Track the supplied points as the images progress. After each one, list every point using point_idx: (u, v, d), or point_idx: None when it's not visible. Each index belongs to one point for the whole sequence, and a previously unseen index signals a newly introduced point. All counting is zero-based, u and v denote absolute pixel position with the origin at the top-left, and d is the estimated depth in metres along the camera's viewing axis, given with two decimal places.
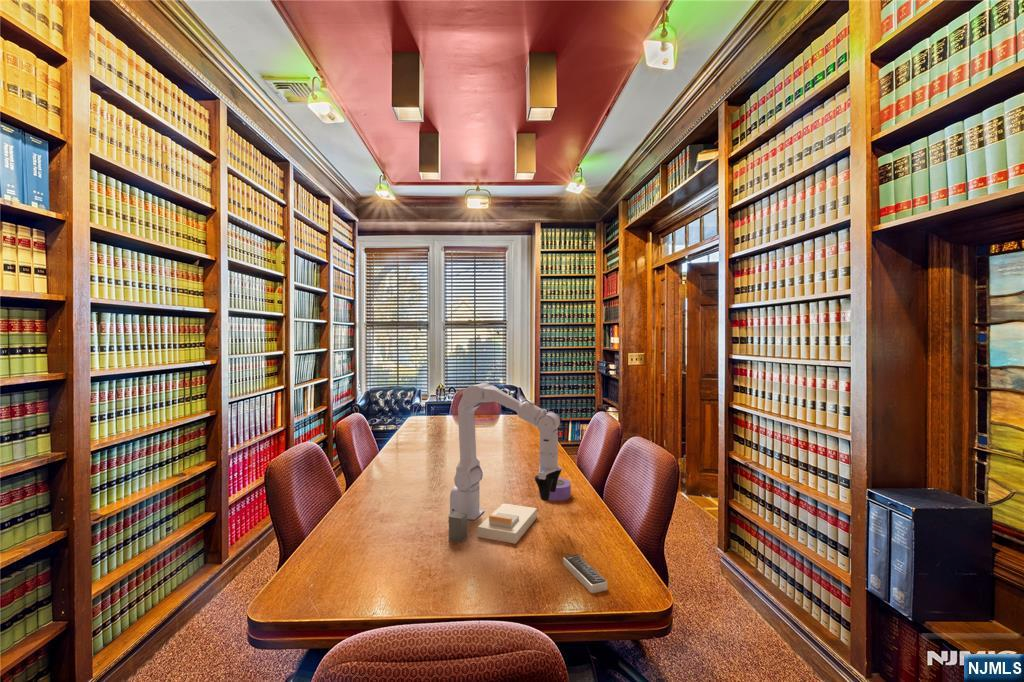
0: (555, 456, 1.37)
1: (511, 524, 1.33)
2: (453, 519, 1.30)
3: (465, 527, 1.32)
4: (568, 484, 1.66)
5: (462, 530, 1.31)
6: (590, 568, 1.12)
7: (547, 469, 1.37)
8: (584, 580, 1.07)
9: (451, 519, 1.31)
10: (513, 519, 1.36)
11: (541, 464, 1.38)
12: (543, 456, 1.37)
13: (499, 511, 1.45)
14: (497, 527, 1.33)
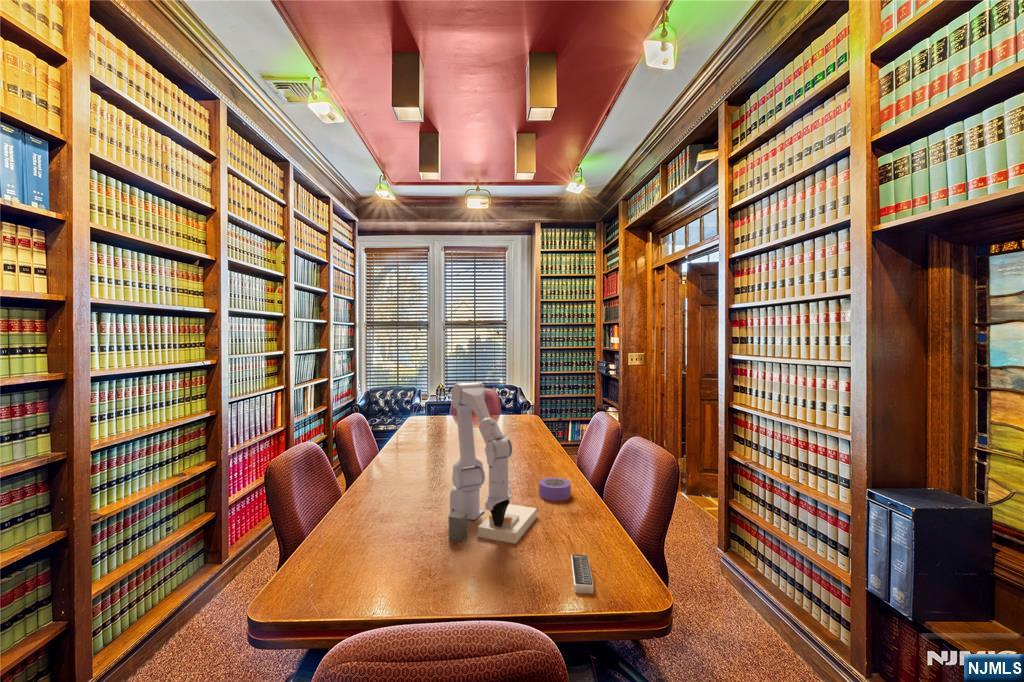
0: (504, 484, 1.30)
1: (511, 524, 1.33)
2: (453, 519, 1.30)
3: (465, 527, 1.32)
4: (568, 484, 1.66)
5: (462, 530, 1.31)
6: (587, 570, 1.11)
7: (496, 498, 1.29)
8: (573, 578, 1.08)
9: (451, 519, 1.31)
10: (513, 519, 1.36)
11: (490, 493, 1.31)
12: (492, 484, 1.30)
13: None
14: (497, 527, 1.33)
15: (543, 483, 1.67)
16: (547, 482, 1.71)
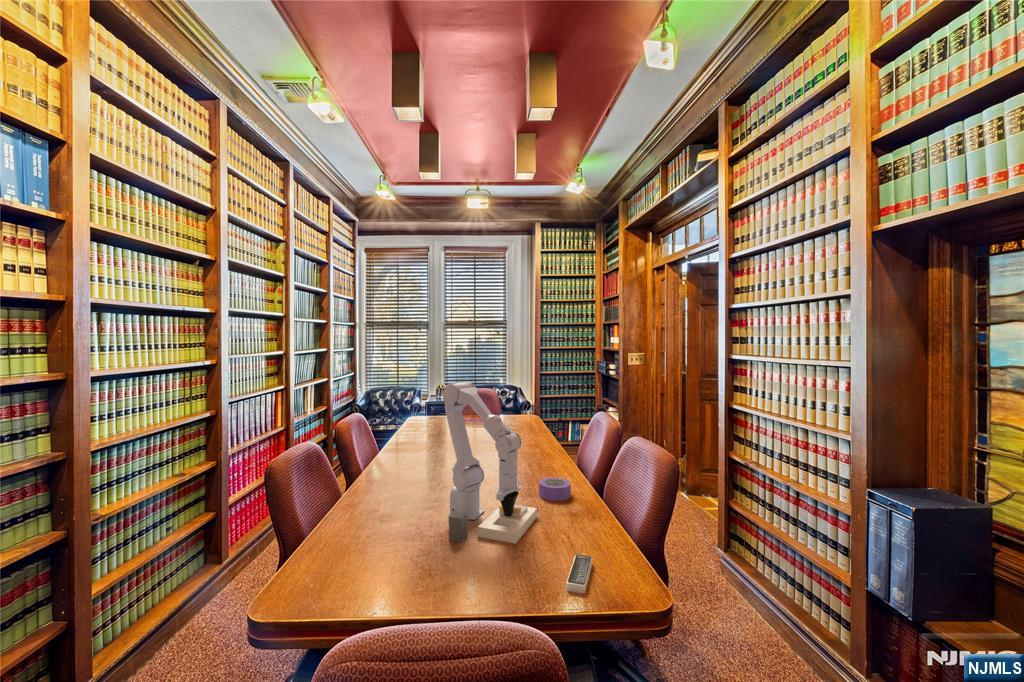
0: (514, 476, 1.38)
1: (520, 514, 1.40)
2: (453, 519, 1.30)
3: (465, 527, 1.32)
4: (568, 484, 1.66)
5: (462, 530, 1.31)
6: (585, 570, 1.11)
7: (506, 489, 1.37)
8: None
9: (451, 519, 1.31)
10: (522, 509, 1.43)
11: (500, 484, 1.38)
12: (502, 476, 1.38)
13: None
14: (497, 527, 1.33)
15: (543, 483, 1.67)
16: (547, 482, 1.71)
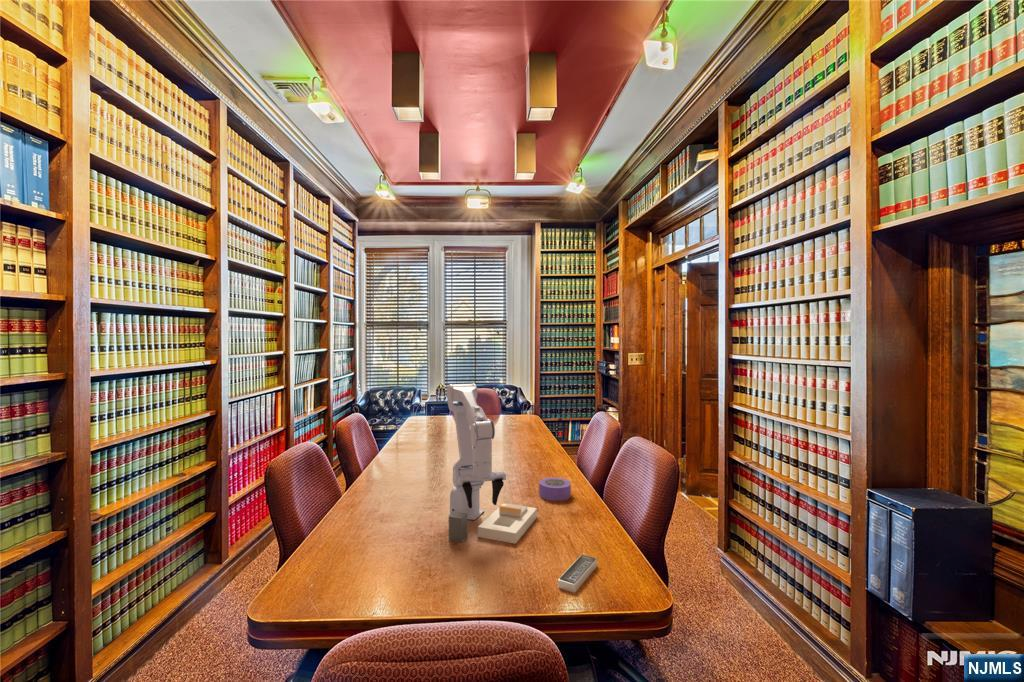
0: (480, 466, 1.33)
1: (520, 514, 1.40)
2: (453, 519, 1.30)
3: (465, 527, 1.32)
4: (568, 484, 1.66)
5: (462, 530, 1.31)
6: (583, 571, 1.11)
7: (473, 477, 1.34)
8: None
9: (451, 519, 1.31)
10: (522, 509, 1.43)
11: None
12: None
13: None
14: (497, 527, 1.33)
15: (543, 483, 1.67)
16: (547, 482, 1.71)
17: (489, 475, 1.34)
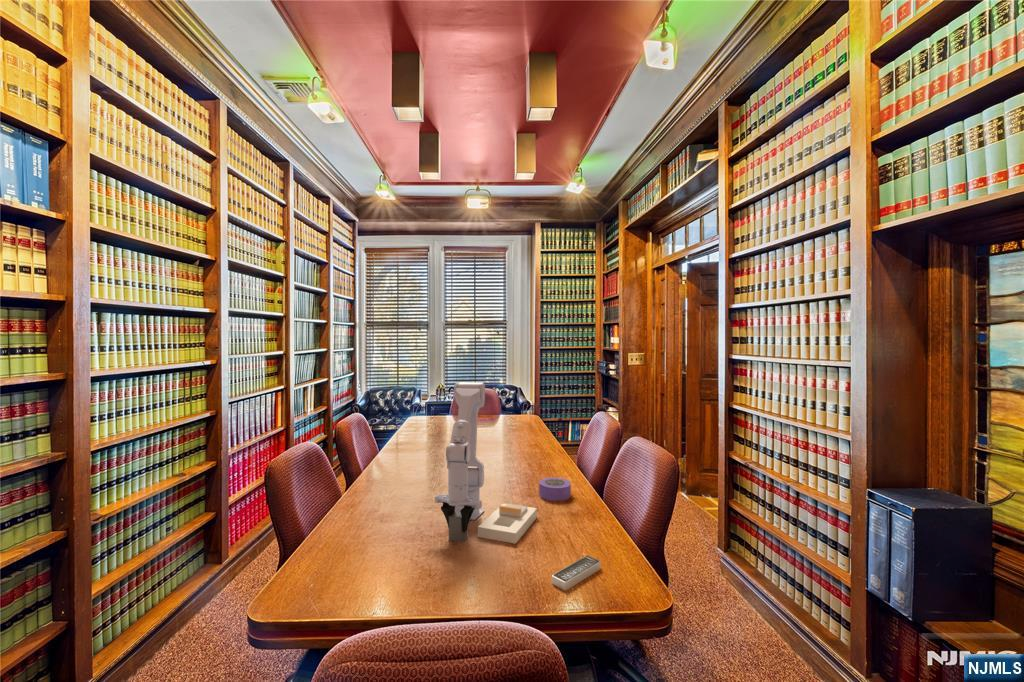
0: (450, 488, 1.30)
1: (520, 514, 1.40)
2: (453, 519, 1.30)
3: None
4: (568, 484, 1.66)
5: None
6: (580, 571, 1.11)
7: (448, 498, 1.33)
8: None
9: (451, 519, 1.31)
10: (522, 509, 1.43)
11: None
12: None
13: None
14: (497, 527, 1.33)
15: (543, 483, 1.67)
16: (547, 482, 1.71)
17: (459, 500, 1.29)
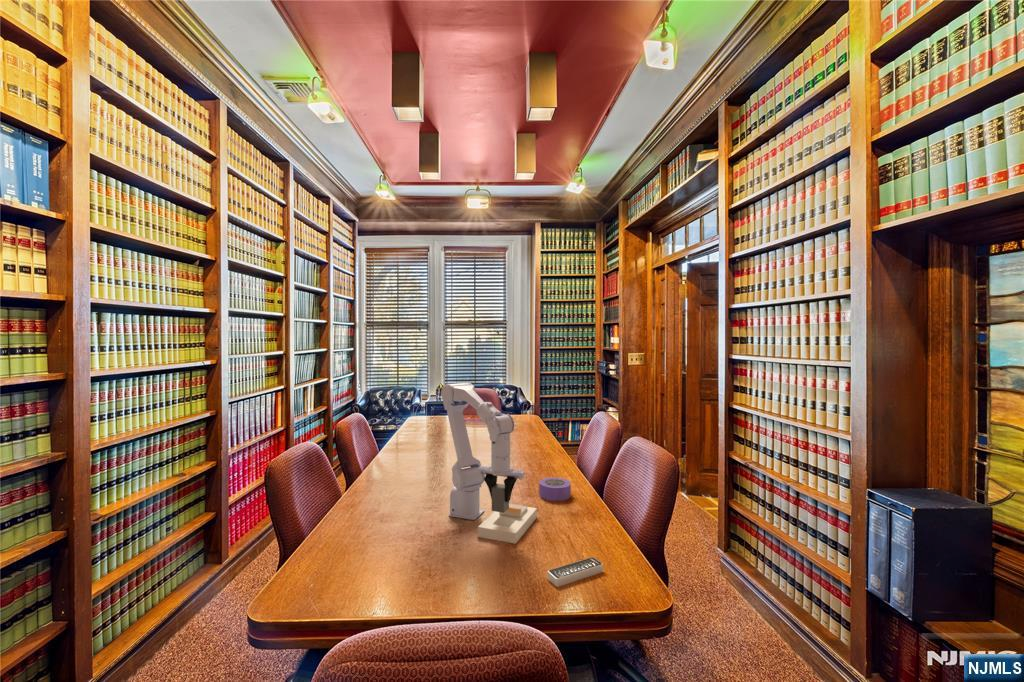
0: (493, 459, 1.34)
1: (520, 514, 1.40)
2: (496, 490, 1.34)
3: None
4: (568, 484, 1.66)
5: (505, 501, 1.34)
6: (577, 570, 1.11)
7: (491, 469, 1.37)
8: None
9: (494, 490, 1.35)
10: (522, 509, 1.43)
11: None
12: None
13: None
14: (497, 527, 1.33)
15: (543, 483, 1.67)
16: (547, 482, 1.71)
17: (502, 471, 1.33)
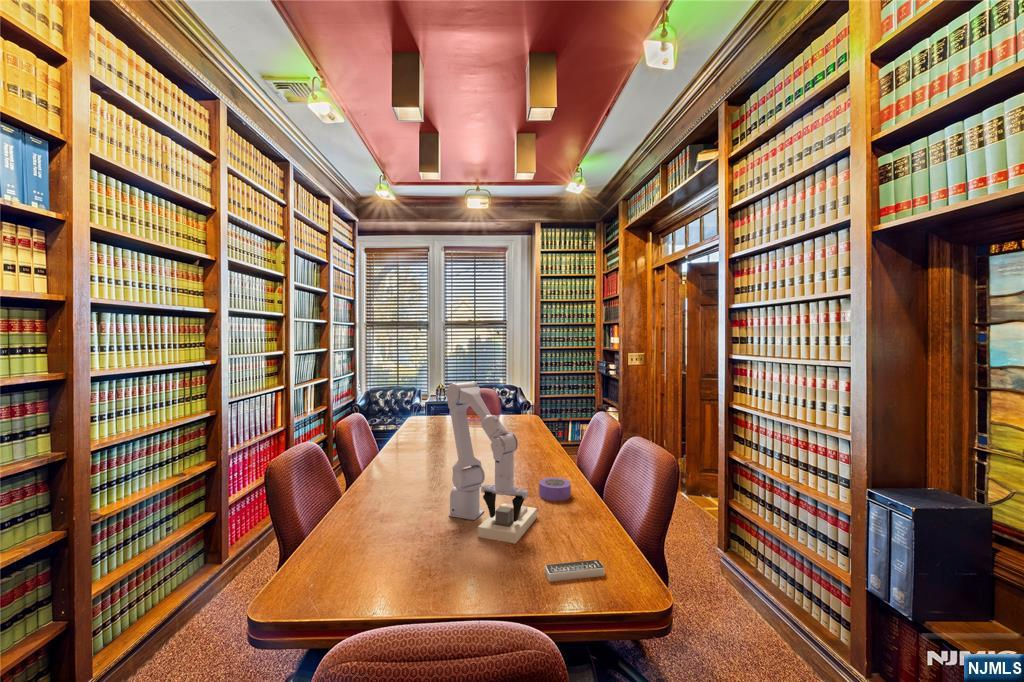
0: (497, 478, 1.35)
1: (520, 514, 1.40)
2: (500, 514, 1.35)
3: (511, 521, 1.37)
4: (568, 484, 1.66)
5: (509, 524, 1.35)
6: (574, 569, 1.11)
7: (494, 488, 1.37)
8: None
9: (498, 513, 1.35)
10: (522, 509, 1.43)
11: None
12: None
13: None
14: (497, 527, 1.33)
15: (543, 483, 1.67)
16: (547, 482, 1.71)
17: (506, 490, 1.34)
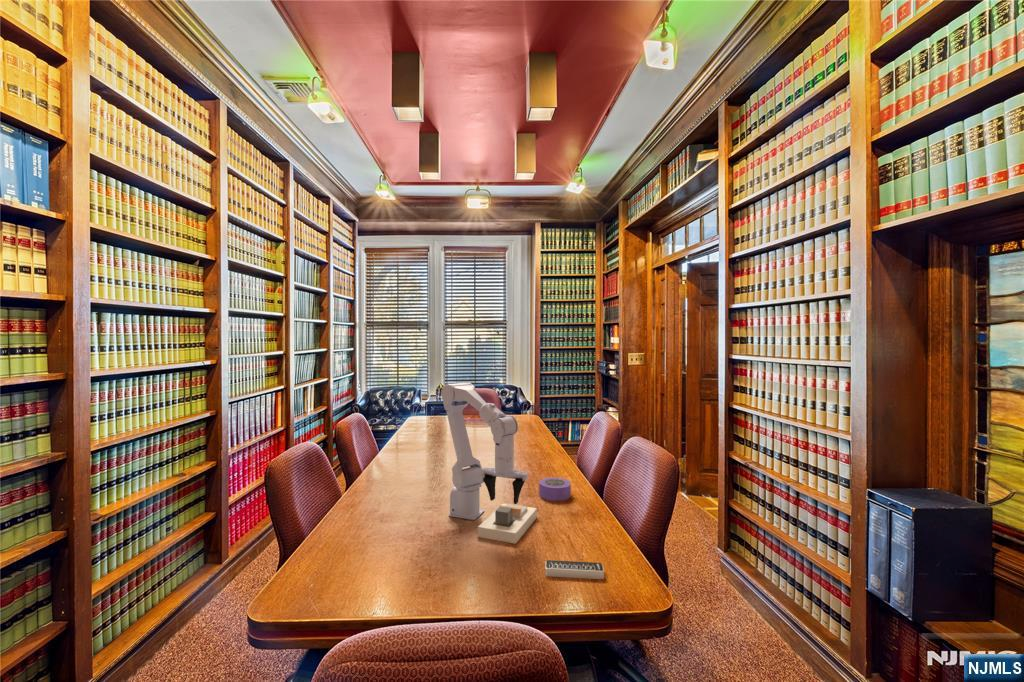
0: (497, 461, 1.35)
1: (520, 514, 1.40)
2: (500, 514, 1.35)
3: (511, 521, 1.37)
4: (568, 484, 1.66)
5: (509, 524, 1.35)
6: (572, 568, 1.12)
7: (494, 470, 1.37)
8: None
9: (498, 513, 1.35)
10: (522, 509, 1.43)
11: None
12: None
13: None
14: (497, 527, 1.33)
15: (543, 483, 1.67)
16: (547, 482, 1.71)
17: (506, 472, 1.34)
